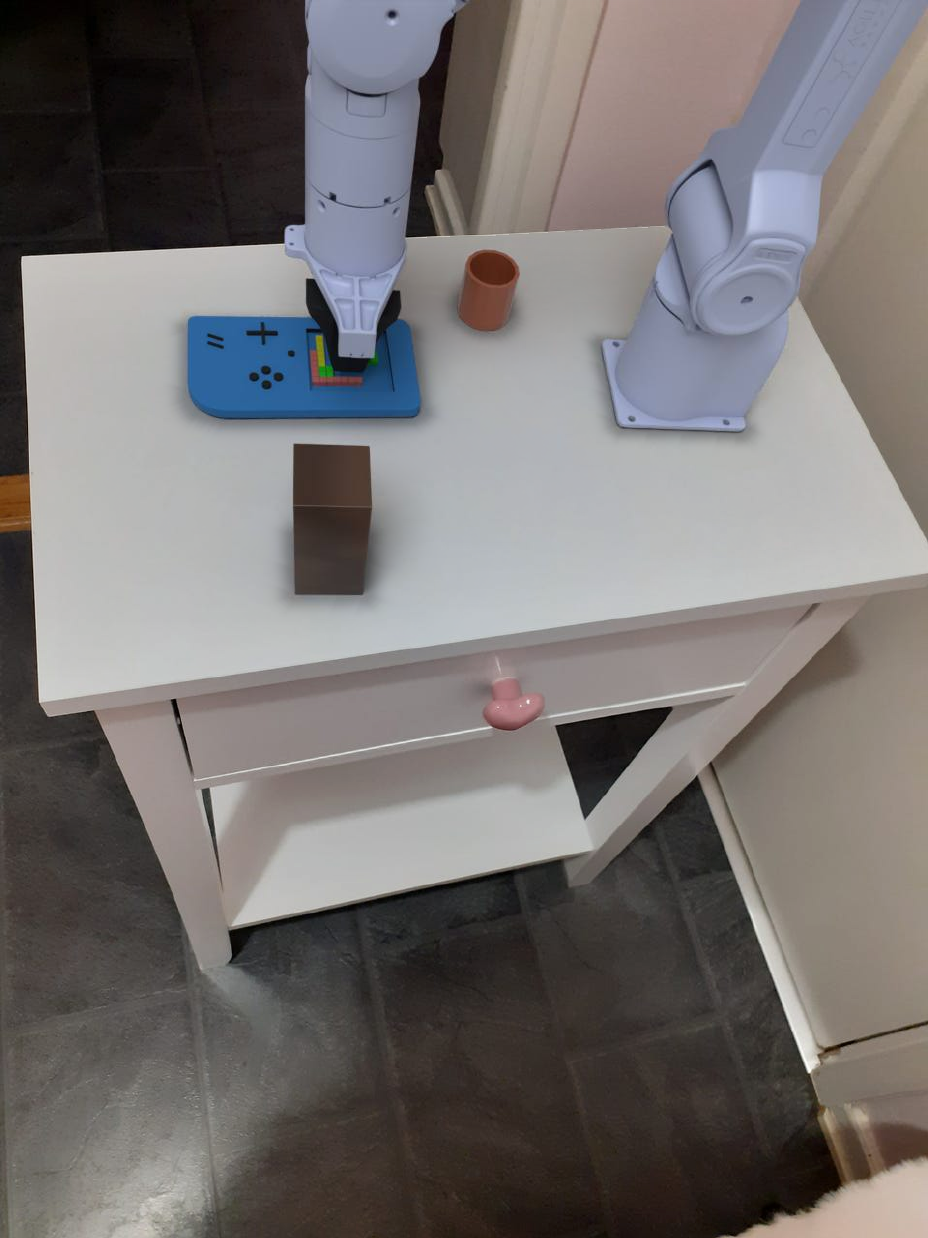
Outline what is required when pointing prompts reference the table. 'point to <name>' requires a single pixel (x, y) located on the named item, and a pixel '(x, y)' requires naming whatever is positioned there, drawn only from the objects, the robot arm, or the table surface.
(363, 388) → the handheld gaming device
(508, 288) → the pen cup
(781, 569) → the table surface
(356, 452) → the tall brown box
